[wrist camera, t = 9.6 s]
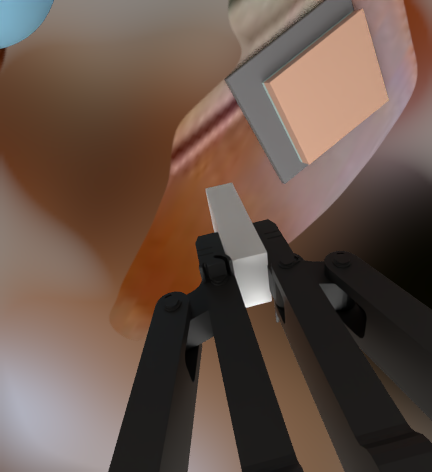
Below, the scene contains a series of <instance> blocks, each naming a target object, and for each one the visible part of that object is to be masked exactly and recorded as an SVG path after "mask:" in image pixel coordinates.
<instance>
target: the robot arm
mask: <svg viewBox="0 0 432 472" xmlns="http://www.w3.org/2000/svg"><path fill="white" fill-rule="evenodd" d="M206 194H207V199H208V204H209V209H210V213H211V218H212V223H213V228H214V232H215V233H211V234H207V235H203V236H198V238H197V241H196V243H195V244H196V249H197V254H198V259H199V270H200V274H201V277H202V282H201V284H200V285H199V287H198V288H197V289H196V290H194V291H193V292H191V293H189V294H187V295H186V294H184V293H182V292H171V293H168V294H166V295H164V296H162V297H161V298H160V299H159V300H158V302H157V304H156V306H155V310H154V313H153V317H152V320H151V324H150V327H149V331H148V334H147V338H146V341H145V345H144V348H143V352H142V355H141V359H140V362H139V366H138V369H137V373H136V377H135V380H134V383H133V387H132V390H131V394H130V397H129V401H128V404H127V408H126V411H125V415H124V418H123V422H122V426H121V429H120V433H119V436H118V440H117V443H116V447H115V450H114V454H113V457H112V461H111V464H110V468H109V471H108V472H187V471H188V463H189V453H190V445H191V437H192V429H193V420H194V411H195V403H196V394H197V386H198V377H199V369H200V360H201V351H202V343H203V342H205V341H206V340H208V339H210V338H211V337H213V336H214V338H215V343H216V348H217V352H218V358H219V363H220V368H221V372H222V377H223V382H224V386H225V391H226V397H227V401H228V406H229V411H230V416H231V421H232V425H233V430H234V435H235V440H236V445H237V449H238V454H239V459H240V464H241V469H242V472H303V469H302V467H301V465H300V464H299V462H298V460H297V458H296V455H295V452H294V449H293V446H292V443H291V440H290V437H289V434H288V431H287V428H286V425H285V422H284V419H283V417H282V413H281V411H280V408H279V405H278V402H277V399H276V396H275V393H274V390H273V387H272V384H271V381H270V378H269V375H268V372H267V369H266V366H265V363H264V360H263V357H262V354H261V351H260V349H259V345H258V343H257V339H256V337H255V334H254V331H253V328H252V325H251V322H250V319H249V316H248V313H247V310H246V307H250V306H254V305H258V304H262V303H266V302H270V301H272V299H271V294H272V296H273V299H274V301H275V313H276V321H277V322H279V320H280V322H281V324H282V327H283V329H284V331H285V333H286V336H287V338H288V340H289V343H290V345H291V348H292V350H293V352H294V355H295V357H296V359H297V362H298V364H299V366H300V368H301V371H302V373H303V375H304V378H305V380H306V382H307V385H308V387H309V390H310V392H311V394H312V397H313V399H314V401H315V403H316V406H317V408H318V410H319V413H320V415H321V418H322V419H323V422H324V424H325V427H326V429H327V432H328V434H329V436H330V438H331V441H332V443H333V446H334V448H335V450H336V453H337V455H338V457H339V460H340V462H341V464H342V466H343V469H344V471H345V472H432V443H431V442H430V441H429V440H428V439H427V438H426V437H425V436H424V435H423V434H420V433H417V432H415V431H414V430H413V429H411V428H410V426H409V425H408V424H407V422H406V421H405V419H404V417H403V416H402V414H401V413H400V411H399V409H398V408H397V406H396V405H395V403H394V401H393V400H392V398H391V397H390V395H389V394H388V392H387V391H386V389H385V387H384V386H383V384H382V383H381V381H380V379H379V378H378V376H377V375H376V373H375V372H374V370H373V369H372V367H371V365H370V364H369V362H368V361H367V359H366V357H365V356H364V354H363V353H362V351H361V350H360V348H361V349H362V350H363V351H364V352H365V353H366V354H367V355H368V356H369V358H370V359H371V360H372V361H373V362H374V363H376V365H377V366H378V367H380V368H381V370H382V371H383V372H384V373H385V374H386V375H387V376H388V377H389V378H390V379H391V380H392V381H393V382H394V383H395V384H396V385H397V386H398V387H399V388H400V389H401V390H402V391H403V392H404V393H405V394H406V395H407V396H408V397H409V398H410V399H411V400H412V401H413V402H414V403H415V404H416V405H417V406H418V407H419V408H420V409H421V410H422V411H423V412H424V413H425V414H426V415H427V416H428V417H429V418H430V419H431V420H432V310H431V309H430V308H428V307H427V306H425V305H424V304H422V303H421V302H419V301H418V300H417V299H415V298H414V297H413V296H411V295H410V294H409V293H407V292H406V291H404V290H403V289H402V288H400V287H399V286H397V285H396V284H395V283H393V282H392V281H391V280H389V279H388V278H386V277H385V276H384V275H382V274H381V273H379V272H378V271H377V270H375V269H374V268H372V267H371V266H370V265H368V264H367V263H365V262H364V261H362V260H361V259H360V258H358V257H357V256H356V255H354V254H352V253H349V252H345V251H336V252H333V253H330V254H328V255H327V256H326V258H325V259H324V262H312V261H305V260H303V258H301V257H300V256H299V255H297V254H295V253H293V252H292V250H291V248H290V247H289V245H288V243H287V242H286V240H285V239H284V237H283V236H282V234H281V232H280V231H279V229H278V227H277V226H276V224H275V223H273V222H272V221H270V220H268V219H267V220H263V221H259V222H255V223H252V222H251V220H250V218H249V216H248V214H247V212H246V210H245V208H244V206H243V204H242V202H241V200H240V198H239V196H238V194H237V192H236V190H235V188H234V186H233V184H232V183H228V184H224V185H219V186H215V187H211V188H206ZM359 347H360V348H359Z"/></svg>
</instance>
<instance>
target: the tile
mask: <svg viewBox="0 0 432 472" xmlns="http://www.w3.org/2000/svg"><path fill="white" fill-rule="evenodd" d="M262 84H263V87H264V89H265V91H266V93H267V95H268V97H269V99H270V101H271V103H272V105H273V107H274V109H275V111H276V113H277V115H278V117H279V119H280V121H281V123H282V125H283V127H284V129H285V131H286V133H287V135H288V137H289V139H290V141H291V143H292V145H293V147H294V149H295V151H296V153H297V155H298V157H299V159H300V161H301V162H303V163H306V164H311V163H312V162H313V161H314V160H316V159H317V158H318V157H319V156H321V155H322V154H323V153H324V152H325V151H327V150H328V149H329V148H330V147H332V146H333V145H334V144H335V143H337V142H338V141H339V140H340V139H342V138H343V137H344V136H345V135H346V134H348V133H349V132H350V131H351V130H353V129H354V128H355V127H356V126H358V125H359V124H360V123H361V122H363V121H364V120H365V119H366V118H368V117H369V116H370V115H371V114H372V113H374V112H375V111H376V110H377V109H379V108H380V107H381V106H382V105H384V104H385V103H386V102H387V101H389V99H388V96H387V92H386V88H385V85H384V81H383V78H382V74H381V71H380V67H379V64H378V60H377V57H376V53H375V50H374V46H373V43H372V39H371V35H370V32H369V28H368V25H367V21H366V18H365V14H364V11H363V9H359V10H356V11H352V12H350V13H349V14H347V15H346V16H345V17H344V18H342V19H341V20H340V21H339V22H337V23H336V24H335V25H334V26H332V27H331V28H330V29H329V30H327V31H326V32H325V33H324V34H322V35H321V36H320V37H319V38H317V39H316V40H315V41H314V42H312V43H311V44H310V45H309V46H307V47H306V48H305V49H304V50H302V51H301V52H300V53H298V54H297V55H296V56H295V57H293V58H292V59H291V60H290V61H288V62H287V63H286V64H285V65H283V66H282V67H281V68H280V69H278V70H277V71H276V72H275V73H273V74H272V75H271V76H270V77H268V78H267V79H266V80H265V81H263V82H262Z"/></svg>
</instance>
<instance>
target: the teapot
mask: <svg viewBox="0 0 432 472" xmlns="http://www.w3.org/2000/svg"><path fill="white" fill-rule="evenodd" d="M53 1H54V0H0V49H1V48H6V47H9V46H11V45H14V44H16V43H18V42H20V41H22V40H24V39H25V38H27V37H28V36H29V35H31V34H32V33H33V32H34V31H35V30H36V29H37V28H38V27H39V26H40V25H41V23H42V22H43V21H44V19H45V18H46V16H47V14H48V13H49V11H50V9H51V6H52V4H53Z"/></svg>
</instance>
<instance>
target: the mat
mask: <svg viewBox="0 0 432 472" xmlns="http://www.w3.org/2000/svg"><path fill="white" fill-rule="evenodd" d="M352 11H354V8H353V5H352V2H351V0H324V1H323V2H321V3H320V4H319V5H318V6H316V7H315V8H314V9H313V10H311V11H310V12H309V13H308V14H306V15H305V16H304V17H303V18H301V19H300V20H299V21H297V22H296V23H295V24H294V25H292V26H291V27H290V28H289V29H287V30H286V31H285V32H284V33H282V34H281V35H280V36H279V37H277V38H276V39H275V40H274V41H272V42H271V43H270V44H268V45H267V46H266V47H265V48H263V49H262V50H261V51H260V52H258V53H257V54H256V55H255V56H253V57H252V58H251V59H250V60H248V61H247V62H246V63H244V64H243V65H242V66H241V67H239V68H238V69H237V70H236V71H234V72H233V73H232V74H231V75H229V76H228V77H227V78H226V79H224V80H225V81H226V83H227V85H228V87H229V89H230V90H231V92H232V94H233V96H234V98H235V99H236V101H237V103H238V105H239V107H240V108H241V110H242V112H243V114H244V116H245V117H246V119H247V121H248V123H249V125H250V126H251V128H252V130H253V132H254V134H255V135H256V137H257V139H258V141H259V143H260V144H261V146H262V148H263V150H264V152H265V153H266V155H267V157H268V159H269V161H270V162H271V164H272V166H273V168H274V169H275V171H276V173H277V175H278V177H279V178H280V180H281V182H282V183H284V184H285V183H287V182H288V181H289V180H290V179H292V178H293V177H294V176H295V175H296V174H298V173H299V172H300V171H301V170H303V169H304V168H305V167H306V166H308V165H309V164H306V163H303V162H301V161H300V159H299V157H298V155H297V153H296V151H295V149H294V147H293V145H292V143H291V141H290V139H289V137H288V135H287V133H286V131H285V129H284V127H283V125H282V123H281V121H280V119H279V117H278V115H277V113H276V111H275V109H274V107H273V105H272V103H271V101H270V99H269V97H268V95H267V93H266V91H265V89H264V87H263V84H262V82H263V81H265V80H266V79H267V78H268V77H270V76H271V75H272V74H273V73H275V72H276V71H277V70H278V69H280V68H281V67H282V66H283V65H285V64H286V63H287V62H288V61H290V60H291V59H292V58H293V57H295V56H296V55H297V54H298V53H300V52H301V51H302V50H304V49H305V48H306V47H307V46H309V45H310V44H311V43H312V42H314V41H315V40H316V39H317V38H319V37H320V36H321V35H322V34H324V33H325V32H326V31H327V30H329V29H330V28H331V27H332V26H334V25H335V24H336V23H337V22H339V21H340V20H341V19H342V18H344V17H345V16H346V15H347V14H349V13H350V12H352Z"/></svg>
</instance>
